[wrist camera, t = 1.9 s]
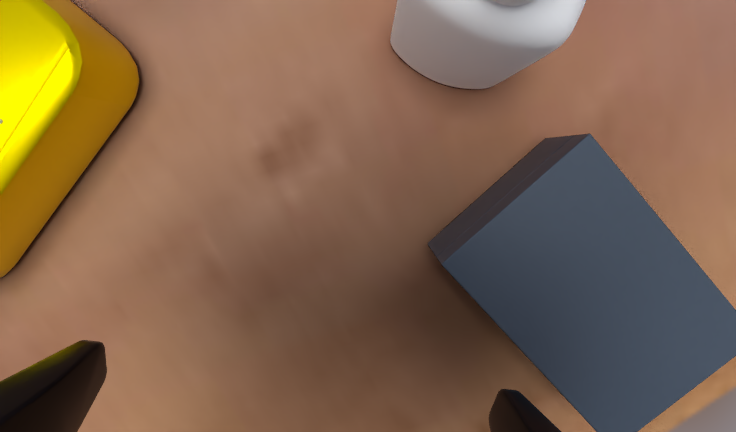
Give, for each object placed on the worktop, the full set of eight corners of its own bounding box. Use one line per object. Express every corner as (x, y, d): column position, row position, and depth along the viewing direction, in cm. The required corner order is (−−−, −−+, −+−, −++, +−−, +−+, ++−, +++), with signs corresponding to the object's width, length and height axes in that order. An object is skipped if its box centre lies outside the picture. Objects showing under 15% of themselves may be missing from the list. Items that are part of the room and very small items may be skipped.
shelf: (569, 396, 22) (613, 450, 18) (426, 243, 20) (440, 264, 16) (685, 304, 21) (759, 338, 17) (545, 137, 20) (590, 133, 16)
